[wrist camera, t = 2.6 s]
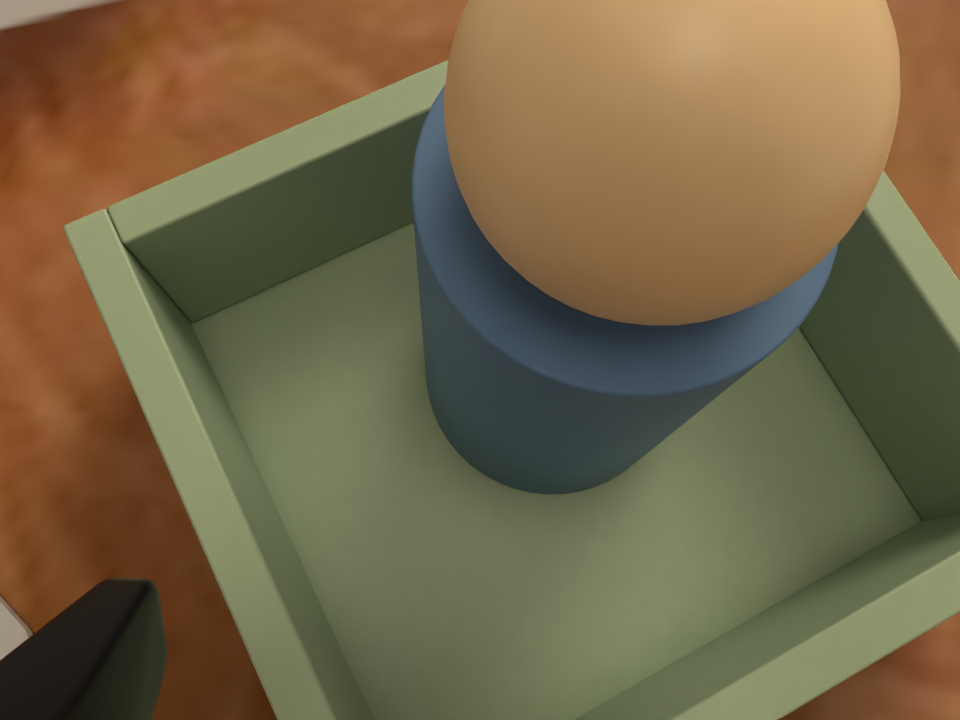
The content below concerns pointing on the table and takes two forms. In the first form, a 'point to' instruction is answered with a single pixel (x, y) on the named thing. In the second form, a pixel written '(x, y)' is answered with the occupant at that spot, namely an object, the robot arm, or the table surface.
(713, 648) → the green square tray
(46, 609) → the table surface
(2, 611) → the dinosaur
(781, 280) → the peg doll
